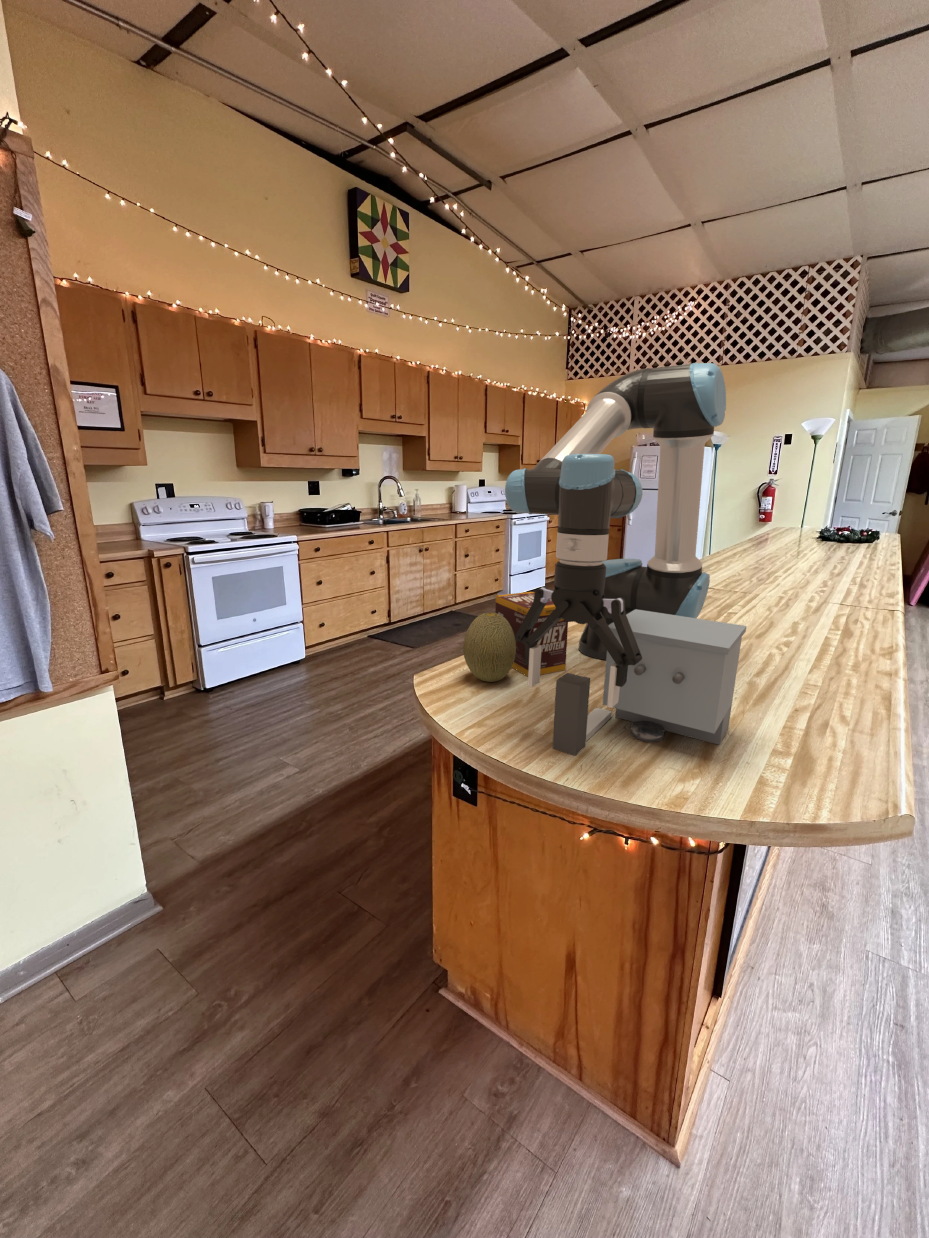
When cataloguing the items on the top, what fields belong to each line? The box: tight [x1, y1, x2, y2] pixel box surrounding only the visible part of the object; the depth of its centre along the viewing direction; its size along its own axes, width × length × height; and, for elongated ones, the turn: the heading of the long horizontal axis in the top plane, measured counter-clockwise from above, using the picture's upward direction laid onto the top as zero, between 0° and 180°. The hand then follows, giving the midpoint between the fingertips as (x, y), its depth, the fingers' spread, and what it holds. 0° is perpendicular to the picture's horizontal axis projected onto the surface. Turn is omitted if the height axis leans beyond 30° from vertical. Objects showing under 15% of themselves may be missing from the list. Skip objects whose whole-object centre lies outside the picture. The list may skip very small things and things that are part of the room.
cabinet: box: [602, 609, 747, 746], centre depth 92 cm, size 19×16×19 cm
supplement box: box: [494, 591, 569, 677], centre depth 126 cm, size 10×15×16 cm
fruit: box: [462, 612, 516, 683], centre depth 116 cm, size 11×11×15 cm
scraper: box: [552, 672, 613, 757], centre depth 93 cm, size 4×17×12 cm, turn 144°
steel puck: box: [630, 721, 665, 744], centre depth 94 cm, size 6×6×2 cm
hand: (571, 694), depth 87 cm, fingers open, 13 cm apart
